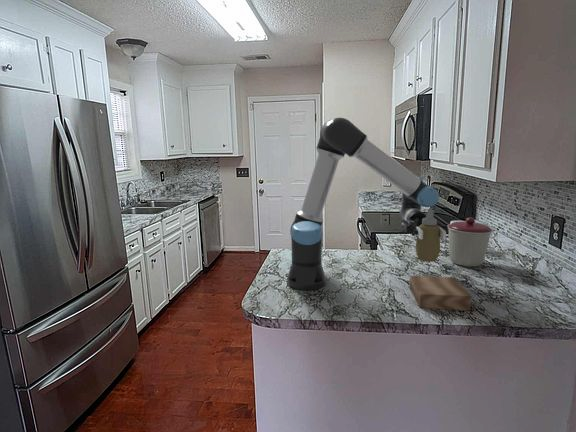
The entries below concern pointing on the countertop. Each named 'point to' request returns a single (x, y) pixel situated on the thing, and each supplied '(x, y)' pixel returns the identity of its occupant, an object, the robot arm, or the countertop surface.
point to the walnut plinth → (439, 293)
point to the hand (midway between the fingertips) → (433, 235)
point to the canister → (468, 242)
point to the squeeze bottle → (428, 239)
